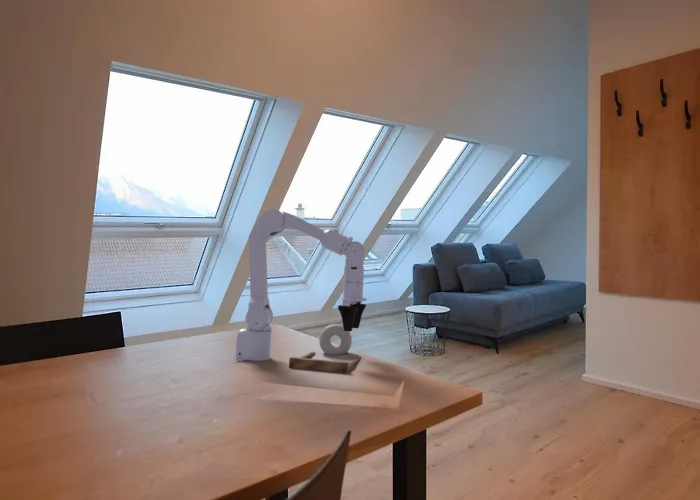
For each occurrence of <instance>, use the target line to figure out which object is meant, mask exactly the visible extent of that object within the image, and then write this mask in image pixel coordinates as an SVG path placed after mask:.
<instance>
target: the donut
mask: <svg viewBox="0 0 700 500" xmlns="http://www.w3.org/2000/svg"><path fill="white" fill-rule="evenodd" d="M333 336H338V338H339V339H340V343H339V344H338V345H334V344H332V343H331V338H332V337H333ZM318 341H319V346H320V349H321V351H322V352H323V353H324V354H325V353H326V354H325V355H332V354H334V355H335V354H337V355H345V354H347V353H348V352H349V350H350V349H351V347H352V342H353V340H352V335H351V333H350V331H344V328H343V324H342V325H341V324H338V323H337V324H336V323H333V324H330V325H327V326H325V327H324V328H323V329H322V331H321V332H320V334H319V340H318ZM334 355H333V356H334Z"/></svg>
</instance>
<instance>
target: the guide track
mask: <svg viewBox="0 0 700 500" xmlns="http://www.w3.org/2000/svg"><path fill="white" fill-rule="evenodd" d="M315 354H316V352H313V351H311V352H309V353H307V354H305V355H302V356H301V357H295V356H290V357H289V360H288V361H289V362H288V368H291V369H292V368H293V369H299V370H300V369H302V370H311V371H320V372H321V371H322V372H330V373H331V372H332V373H333V372H334V373H342V374H348V373H349V372H350V371H351V370H353V369H354V368H355V366H356V365H357V364H358V363H359V362H360V360H361V359H362V358H363V357H362V356H357V357H356V358H354V359H353V360H351V361H350V362H348V361H347V362H345V361H337V360H328V359H327V360H326V359H318V358H317V359H316V358H315V359H314V358H313V356H314V355H315Z"/></svg>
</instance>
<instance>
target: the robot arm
mask: <svg viewBox="0 0 700 500" xmlns="http://www.w3.org/2000/svg"><path fill="white" fill-rule="evenodd" d="M256 220H257V221H256V222H255V224H254V226H253V228H252V230H251V231H250V233H249V235H248V251H249V253H248V257H249V259H248V261H249V288H250V290H249V291H250V293H249V294H250V297H249V301H248V310H247V311H246V314H245V317H244V318H245V323H246V328H241V329H240V330H239V331H238V332H237V334H236V344H235V345H236V349H235V358H234V361H237V362H243V361H246V360H248V361H257V362H258V361H267V360H270V359H271V350H272V349H271V347H272V327H271V325H270V324H271V322H272V321H273V319H274V313H273V310H272V309H271V307H270V300H269V295H268V294H269V291H268V268H267V267H268V266H267V265H268V263H267V242H269V241H270V240H271V239H272V238H273V237H274V236H275V235H278V234H280V233H282V232H284V231H285V230H287V231H295V230H297V231H298V232H301V233H303V234H305V235H308V236H310V237H312V238H314V239H317V240H319V242H320V244H321V247H323V248H324V249H327V250H328V251H331V252H333V253H334V254H337V255H339V256H343V255H344V256H345V265H344V267H343V270H344V271H343V293H342V297H341V298H342V299H341V301H342V304H339V305H337V309H338V311H339V313H340V317H341V320H342V326H343V328H344V331H349V332H352V331H353V329H359V327H360V323H361V320H362V316H363V314H364V313H363V312H364V311H365V309H366V308H367V304H366V303H363V302H365V301H367V298H364V295H363V293H364V277H365V276H364V271H365V268H364V267H365V266H364V263H365V260H364V257H365V254H366V249H365V247H364V245H363V244H362V243H361V242H360V241H353V240H354V238H353V237H352V236H349V237H348V236H346V235H344V234H342V233H340V232H339V230H338V229H336V228H334V229H332V228H329V229H325V230H323V229H322V228H319V227H318V226H315V225H314V224H311V223H310V222H308V221H306V220H304V219H302V218H301V217H299V216H296V215H295V214H294V215H293V214H291V213H289V212H285V211H282V212H281V210H279V209H277V208H273V207H272V208H267V209H265V211H263V212H262V213H261V214H259V216H258V217H257V219H256Z"/></svg>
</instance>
